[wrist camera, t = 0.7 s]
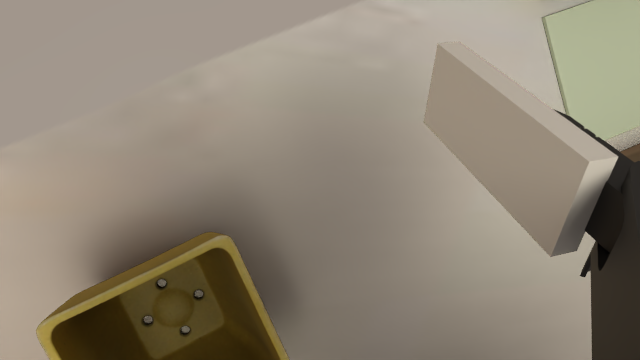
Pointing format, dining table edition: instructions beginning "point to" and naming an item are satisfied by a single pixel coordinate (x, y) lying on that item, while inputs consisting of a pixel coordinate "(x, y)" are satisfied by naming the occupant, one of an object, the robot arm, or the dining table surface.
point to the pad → (598, 63)
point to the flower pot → (168, 311)
